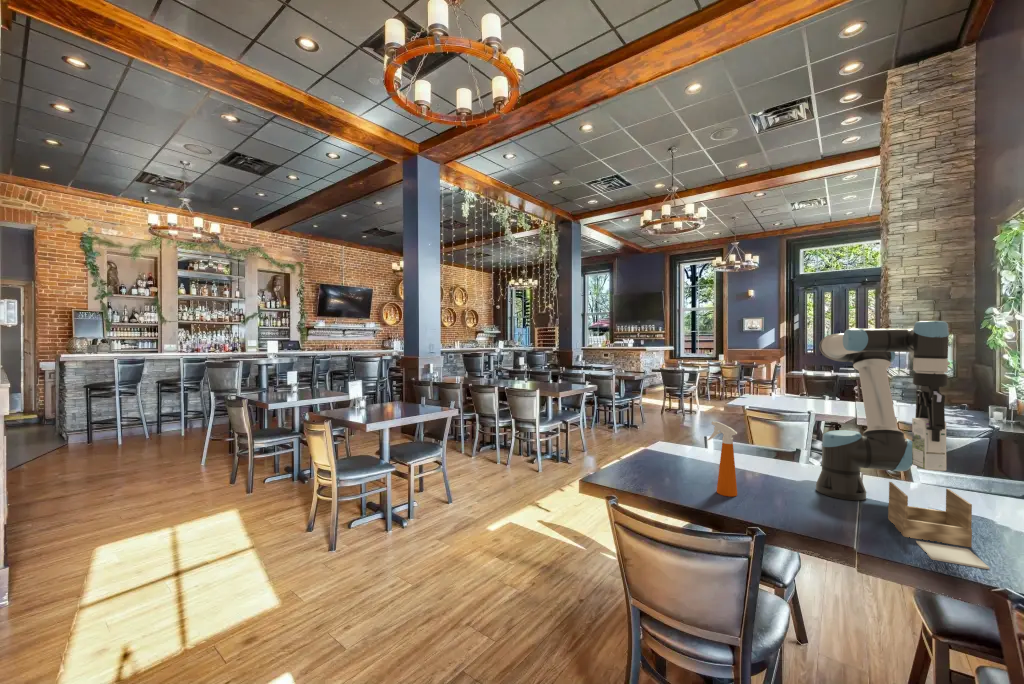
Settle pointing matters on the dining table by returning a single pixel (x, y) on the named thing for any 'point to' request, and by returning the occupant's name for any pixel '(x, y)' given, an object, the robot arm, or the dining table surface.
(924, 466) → the syrup box
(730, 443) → the spray bottle
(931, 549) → the mat
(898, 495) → the wooden holder
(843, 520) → the dining table surface
